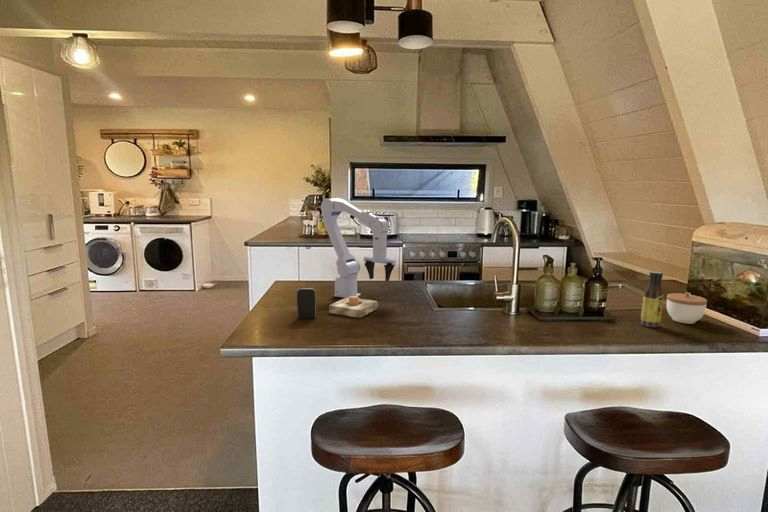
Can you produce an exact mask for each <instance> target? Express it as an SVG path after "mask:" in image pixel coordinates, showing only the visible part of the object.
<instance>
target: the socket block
mask: <svg viewBox="0 0 768 512" xmlns="http://www.w3.org/2000/svg"><path fill="white" fill-rule="evenodd" d="M377 308H378V309H379V305H378V301H377V300H373V299H372V300H371V299H365V298H359V305H357V306H353V305H349V297H346V298H342V299H339V300H337V301H335V302H333V303H330V304H329V305H328V313H329V314H336V315H342V316H348V317H353V318H357V317H358V318H359V319H361V317H362V318H363V317H365V316H366V315H369V314H371V313H372V312H374V311H376V310H378V309H377ZM370 312H371V313H370ZM368 313H369V314H368ZM358 318H357V319H358Z"/></svg>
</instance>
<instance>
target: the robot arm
mask: <svg viewBox="0 0 768 512" xmlns="http://www.w3.org/2000/svg"><path fill="white" fill-rule="evenodd" d="M320 211H321V214H322V221H323V225H324V227H325V230H326V232H327V234H328V237H329V239H330V242H331V244H332V246H333V249H334V251H335V254H336V256H337V260H336V262H335V264H336V269H337V270H336V271H337V274H338V275H337V276H336V277H335V281H334V294H333V296H334V297H338V298H342V299H344V298H346V297H349V296H358V297H359V296H361V295H362V294H361V293H360V292H359V293H358V274H359V273H360V271H361V264H360V262H359V261H358V260H357V259H356V257H355V256H354V255H353V254H351V253H350V251H349V248H348V246H347V243H346V241H345V239H344V237H343V234H342V232H341V229H340V227H339V224H338V222H337V220H338V218H339V217H340V215H341V214H342V213H343V212H345V214H348V215H350V216H352V217H354V218H357V219H358V220H357V221H358V222H359V223H360V224H361V225H363V226H365V227H367V228H368V229H369V230H370V231H371V234H372V256H363V263H364V266H365V268H366V270H367V274H368V277H369V280H373V279H374V275H375V274H374V271H375V264H383V266H384V272H385V273H384V274H385V277H384V278H385V282H388V281H390V278H391V275H392V273H393V270H394V268H395V267H396V265H397V259H395V258H390V257H387V249H388V248H387V245H388V244H387V243H388V242H387V239H388V238H387V237H388V231H389V230H390V222H389V221H388V220H387V219H386V218H380V216H379V215H374V214H373V213H371V211H370V210H360V209H359V208H357V207H356V206H354V205H353V204H351V203H350V202H348V200H345V199H343V198H342V197H334V198H327V197H326V198H324V199H323V200H322V202H321V205H320Z"/></svg>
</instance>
